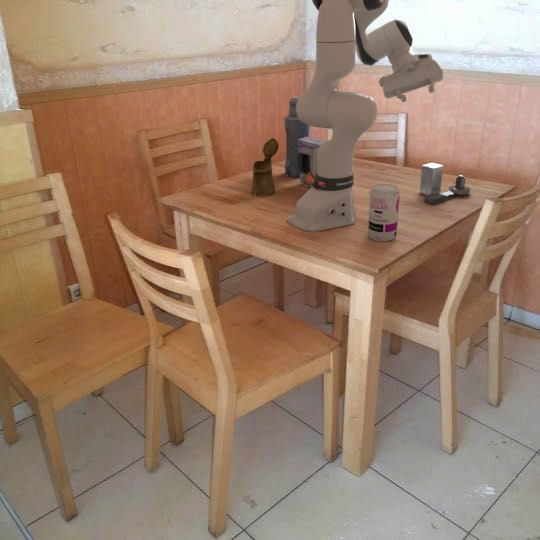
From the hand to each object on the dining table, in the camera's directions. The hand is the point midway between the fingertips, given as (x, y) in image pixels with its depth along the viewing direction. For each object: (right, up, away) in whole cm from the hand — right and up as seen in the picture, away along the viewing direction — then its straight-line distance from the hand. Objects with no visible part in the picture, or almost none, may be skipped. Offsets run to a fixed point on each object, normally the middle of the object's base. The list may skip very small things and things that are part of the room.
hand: (418, 95), depth 187 cm
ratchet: (+12, -33, +6) cm, 36 cm away
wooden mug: (-51, -29, +20) cm, 62 cm away
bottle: (-39, -20, +37) cm, 57 cm away
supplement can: (-17, -49, -22) cm, 56 cm away
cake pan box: (-32, -28, +20) cm, 47 cm away
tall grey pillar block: (+7, -31, +11) cm, 34 cm away
